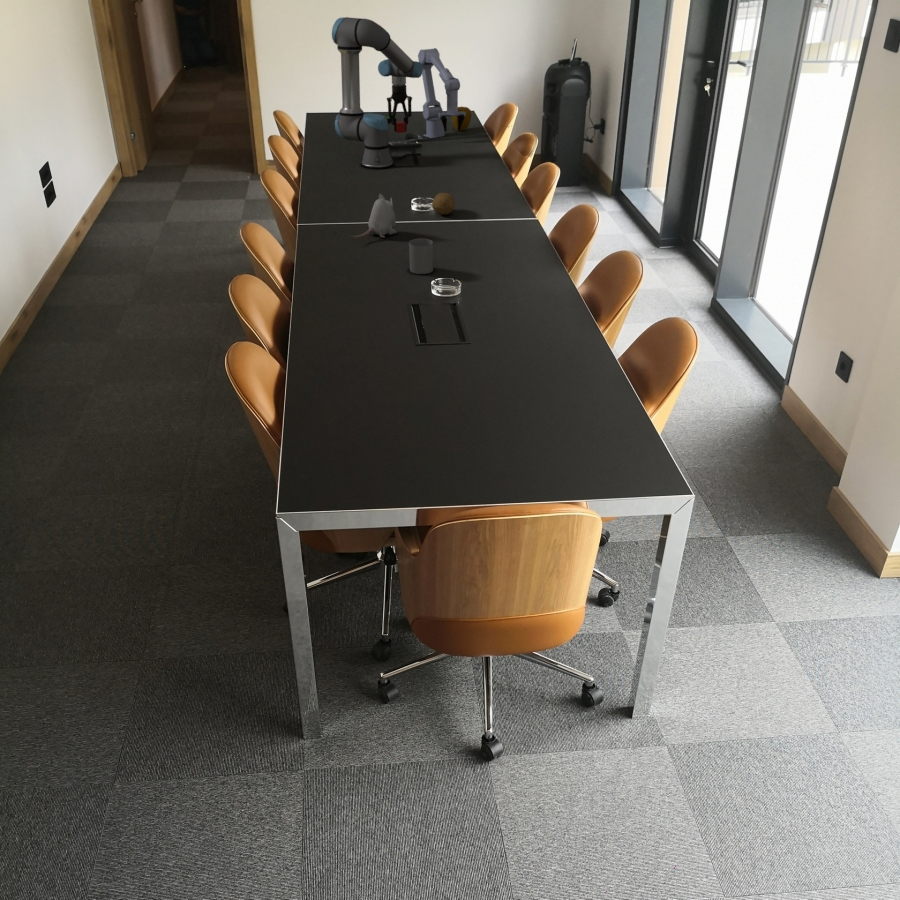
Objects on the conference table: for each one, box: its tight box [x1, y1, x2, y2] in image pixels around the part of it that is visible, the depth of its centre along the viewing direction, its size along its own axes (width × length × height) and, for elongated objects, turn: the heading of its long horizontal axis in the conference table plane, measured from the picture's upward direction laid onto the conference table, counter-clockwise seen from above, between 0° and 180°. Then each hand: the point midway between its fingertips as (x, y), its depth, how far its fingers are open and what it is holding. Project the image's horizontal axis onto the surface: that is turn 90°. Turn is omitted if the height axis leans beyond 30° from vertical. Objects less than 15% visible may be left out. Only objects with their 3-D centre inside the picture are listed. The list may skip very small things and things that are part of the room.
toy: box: [350, 193, 398, 239], centre depth 333 cm, size 9×24×15 cm, turn 137°
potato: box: [431, 192, 456, 216], centre depth 360 cm, size 10×14×8 cm
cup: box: [408, 237, 434, 275], centre depth 305 cm, size 8×8×10 cm
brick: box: [396, 120, 407, 134], centre depth 464 cm, size 5×5×5 cm
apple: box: [451, 105, 472, 132], centre depth 487 cm, size 11×11×13 cm
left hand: (400, 130), depth 465 cm, fingers closed on brick, 5 cm apart
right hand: (452, 130), depth 463 cm, fingers open, 7 cm apart
